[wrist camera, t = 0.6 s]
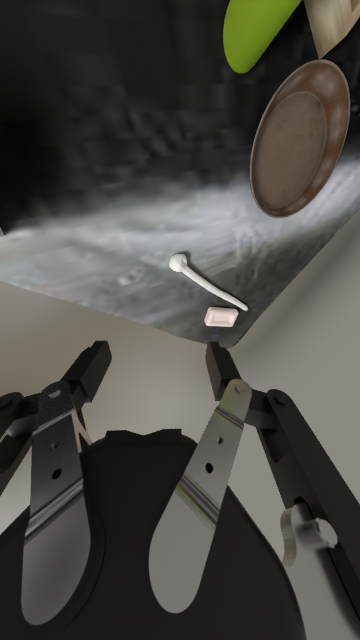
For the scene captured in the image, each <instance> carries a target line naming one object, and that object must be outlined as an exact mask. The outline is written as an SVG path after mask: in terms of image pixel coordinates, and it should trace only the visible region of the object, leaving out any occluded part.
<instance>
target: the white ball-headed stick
mask: <svg viewBox="0 0 360 640" xmlns="http://www.w3.org/2000/svg"><path fill="white" fill-rule="evenodd" d="M169 266H170V267H171V269H172V270H174V271H176V272H181V271H182V272H183V273H184V274H186V275H187V276H188V277H190V278H191V279H193V280H194V281H195V282H197V283H198V284H200V285H201V286H203V287H204V288H206V289H207V290H209V291H210V292H212V293H214V294H216V295H217V296H219V297H221V298H223V299H225V300H227V301H229V302H231V303H233V304H235V305H237V306H238V307H240V308H241V309H243V310H248V308H247V306H246V305H245V304H243V303H242V302H240V301H238V300H237V299H235V298H234V297H232V296H231V295H229V294H227V293H225V292H223V291H221V290H219V289H218V288H216V287H215V286H213V285H212V284H210V283H209V282H208V281H206V280H205V279H203V278H202V277H201V276H199V275H198V274H196V273H195V272H194V271H193V270H191V269H190V268H189V267H188V266H187V259H186V256H185V255H184V254H175V255H173V256H172V258H171V260H170V262H169Z"/></svg>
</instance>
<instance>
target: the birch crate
mask: <svg viewBox="0 0 360 640" xmlns="http://www.w3.org/2000/svg"><path fill="white" fill-rule="evenodd" d="M304 3H305V7H306V11H307V15H308V19H309V23H310V27H311V31H312V34H313V38H314V42H315V46H316V50H317V54H318V58H319V60H320V59H321V58H322V57H323V56H324V55H325V54H327V53H328V52H329V51H330V50H331V49H332V48H333V47H334V46H335V45H337V44H338V43H339V42H340V41H341V40H342V39H343V38H344V37H345V36H346V35H347V34H348V32H349V31H350V30H351V28H352V27H353V25H354V24H355V23H356V21H357V20H358V18H359V17H360V0H304Z"/></svg>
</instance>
